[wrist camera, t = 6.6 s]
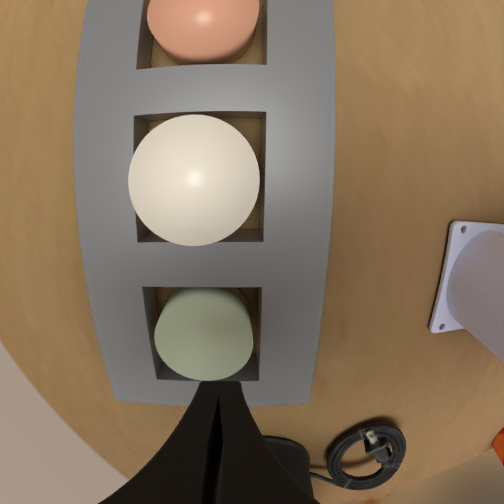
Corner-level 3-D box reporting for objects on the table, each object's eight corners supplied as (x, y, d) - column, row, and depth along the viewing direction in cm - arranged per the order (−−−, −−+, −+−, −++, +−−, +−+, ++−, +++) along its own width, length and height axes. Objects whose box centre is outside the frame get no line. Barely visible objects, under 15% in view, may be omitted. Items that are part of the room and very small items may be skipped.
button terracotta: (255, -8, 13) (259, -33, 10) (254, 70, 14) (258, 53, 11) (163, -5, 12) (153, -28, 10) (156, 73, 14) (142, 58, 11)
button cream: (255, 122, 13) (260, 114, 11) (253, 229, 15) (258, 246, 12) (146, 125, 13) (127, 119, 10) (149, 230, 15) (132, 246, 12)
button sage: (250, 276, 17) (254, 298, 15) (249, 351, 19) (252, 380, 16) (160, 276, 17) (148, 297, 14) (169, 350, 19) (161, 379, 16)
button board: (316, -32, 12) (327, -53, 10) (301, 378, 20) (308, 403, 18) (112, -25, 11) (98, -44, 9) (124, 376, 19) (114, 399, 17)
